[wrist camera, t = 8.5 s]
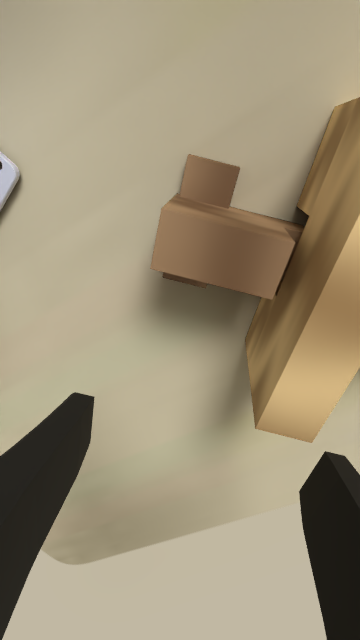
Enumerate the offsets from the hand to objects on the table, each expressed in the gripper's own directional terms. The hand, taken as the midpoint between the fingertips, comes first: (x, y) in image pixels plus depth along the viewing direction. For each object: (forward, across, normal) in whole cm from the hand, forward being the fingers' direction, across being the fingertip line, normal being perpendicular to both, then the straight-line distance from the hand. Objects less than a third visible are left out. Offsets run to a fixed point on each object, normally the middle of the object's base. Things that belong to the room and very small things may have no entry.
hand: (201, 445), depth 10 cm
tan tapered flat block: (+10, -4, -4) cm, 11 cm away
